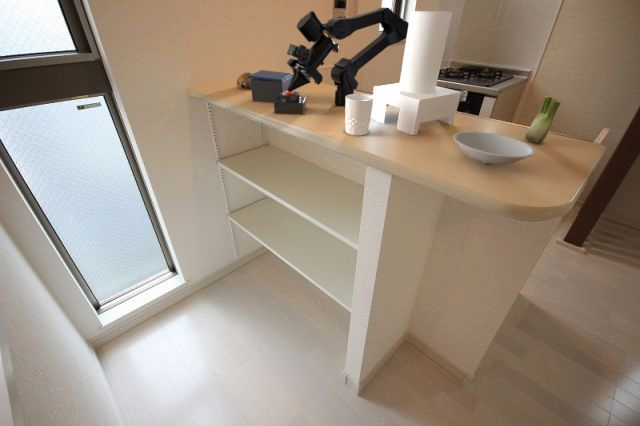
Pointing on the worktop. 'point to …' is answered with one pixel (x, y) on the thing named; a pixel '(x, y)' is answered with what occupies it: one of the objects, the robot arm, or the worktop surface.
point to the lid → (270, 75)
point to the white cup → (358, 113)
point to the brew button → (289, 92)
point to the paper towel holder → (420, 76)
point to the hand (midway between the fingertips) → (288, 90)
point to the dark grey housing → (268, 89)
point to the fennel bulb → (542, 120)
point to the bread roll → (244, 81)
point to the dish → (492, 147)
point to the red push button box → (290, 104)
